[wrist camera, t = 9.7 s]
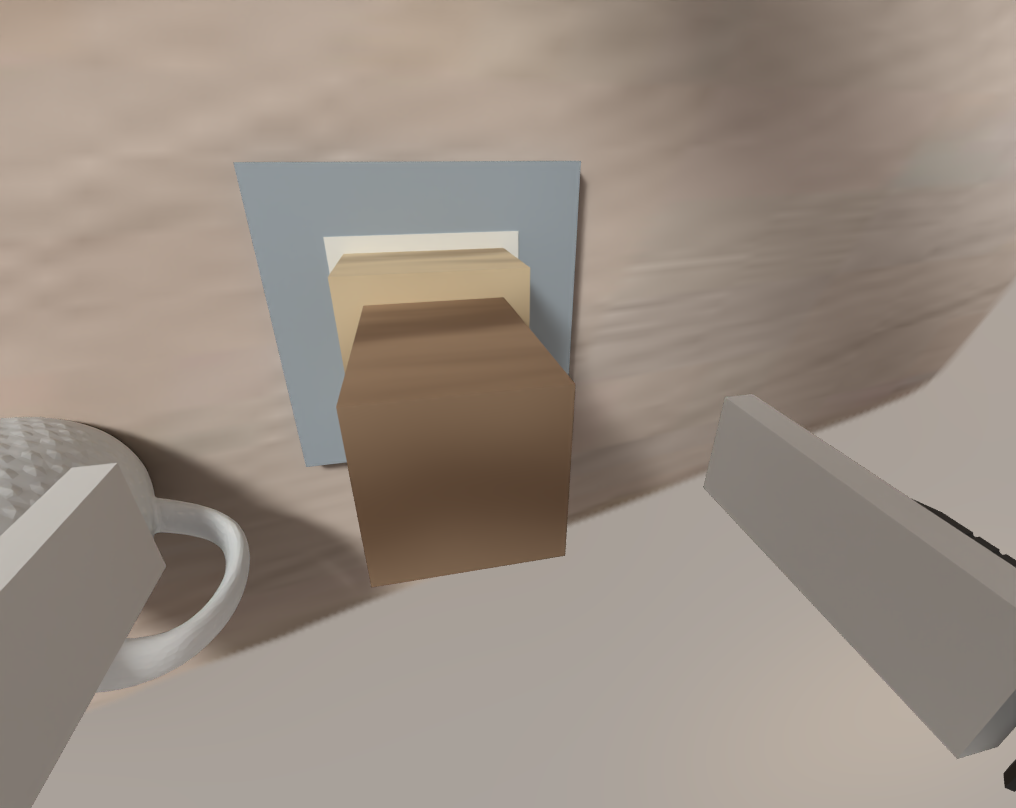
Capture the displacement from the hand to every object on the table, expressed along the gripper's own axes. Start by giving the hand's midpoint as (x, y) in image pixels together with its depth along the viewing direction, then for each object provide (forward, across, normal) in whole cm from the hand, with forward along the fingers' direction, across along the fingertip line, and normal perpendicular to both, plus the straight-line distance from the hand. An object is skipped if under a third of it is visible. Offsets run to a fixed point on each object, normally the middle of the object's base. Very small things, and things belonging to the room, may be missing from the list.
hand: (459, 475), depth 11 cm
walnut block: (+8, 0, -1) cm, 8 cm away
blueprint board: (+14, 0, -1) cm, 14 cm away
